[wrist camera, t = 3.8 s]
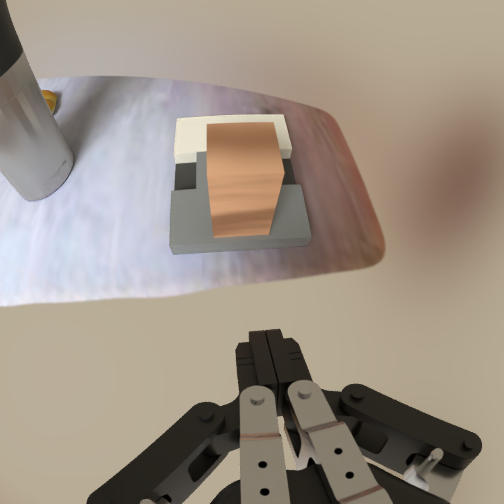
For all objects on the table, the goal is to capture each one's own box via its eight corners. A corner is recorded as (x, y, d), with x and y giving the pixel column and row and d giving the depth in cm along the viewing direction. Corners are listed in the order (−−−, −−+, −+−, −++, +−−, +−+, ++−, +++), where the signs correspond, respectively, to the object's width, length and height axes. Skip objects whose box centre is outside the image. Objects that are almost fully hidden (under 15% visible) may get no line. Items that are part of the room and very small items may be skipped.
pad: (289, 160, 33) (292, 148, 32) (176, 165, 32) (173, 153, 30) (281, 126, 36) (283, 114, 34) (179, 130, 35) (177, 118, 33)
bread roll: (59, 93, 39) (52, 77, 35) (56, 121, 36) (47, 103, 32) (22, 112, 37) (14, 97, 33) (15, 142, 34) (5, 126, 30)
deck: (306, 246, 29) (311, 237, 27) (173, 254, 28) (169, 245, 26) (289, 160, 33) (292, 148, 32) (176, 165, 32) (173, 153, 30)
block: (268, 234, 27) (284, 172, 19) (213, 237, 27) (206, 175, 18) (262, 189, 29) (273, 122, 21) (211, 191, 29) (206, 123, 20)
